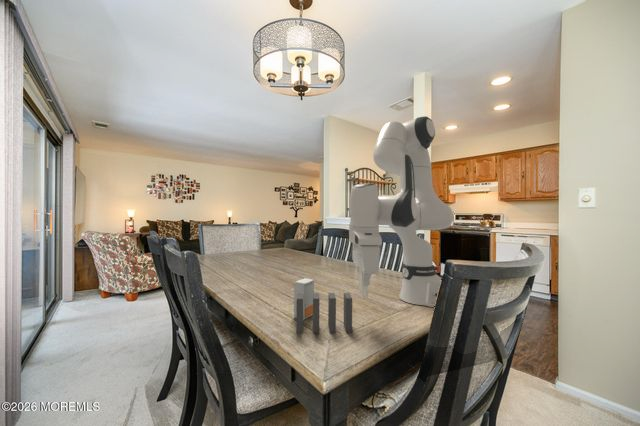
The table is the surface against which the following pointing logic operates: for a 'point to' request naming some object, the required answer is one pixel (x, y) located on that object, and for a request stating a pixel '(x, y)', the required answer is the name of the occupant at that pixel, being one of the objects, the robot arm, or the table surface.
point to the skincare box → (304, 296)
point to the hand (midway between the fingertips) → (363, 282)
